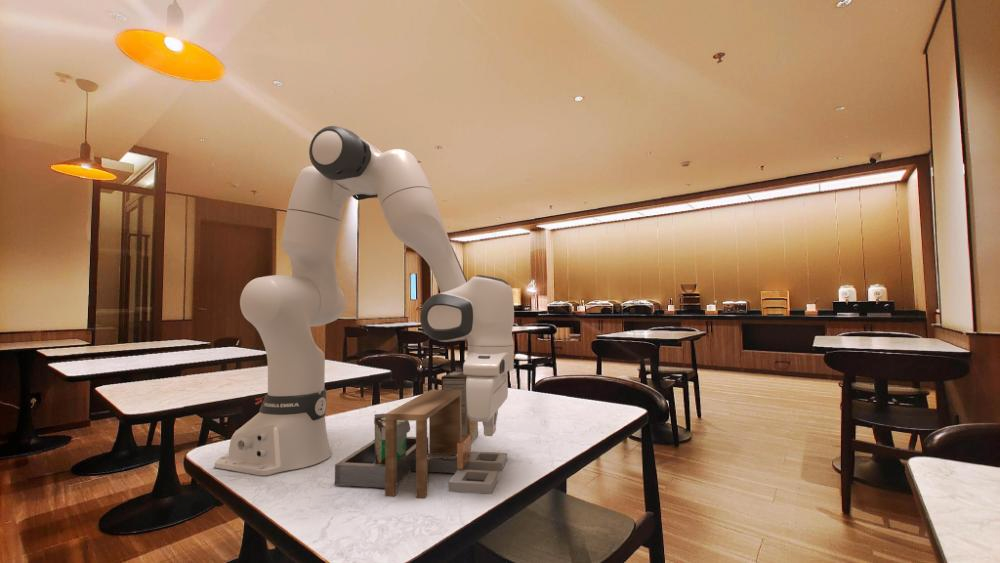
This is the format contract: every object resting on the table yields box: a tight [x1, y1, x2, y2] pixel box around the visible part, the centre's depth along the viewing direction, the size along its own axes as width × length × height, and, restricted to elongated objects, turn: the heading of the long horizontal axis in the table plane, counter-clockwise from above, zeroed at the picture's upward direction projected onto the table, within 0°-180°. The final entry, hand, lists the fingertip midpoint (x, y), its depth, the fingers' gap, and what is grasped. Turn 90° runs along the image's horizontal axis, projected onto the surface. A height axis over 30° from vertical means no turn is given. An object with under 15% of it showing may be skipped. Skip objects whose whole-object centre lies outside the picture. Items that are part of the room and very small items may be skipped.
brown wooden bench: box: [384, 389, 462, 499], centre depth 80 cm, size 7×22×14 cm, turn 169°
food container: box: [373, 413, 411, 464], centre depth 81 cm, size 12×6×10 cm, turn 23°
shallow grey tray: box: [334, 434, 472, 489], centre depth 80 cm, size 22×18×6 cm
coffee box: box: [441, 370, 479, 445], centre depth 99 cm, size 9×6×16 cm
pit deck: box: [447, 450, 508, 495], centre depth 78 cm, size 8×16×2 cm, turn 170°
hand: (489, 434), depth 78 cm, fingers closed
